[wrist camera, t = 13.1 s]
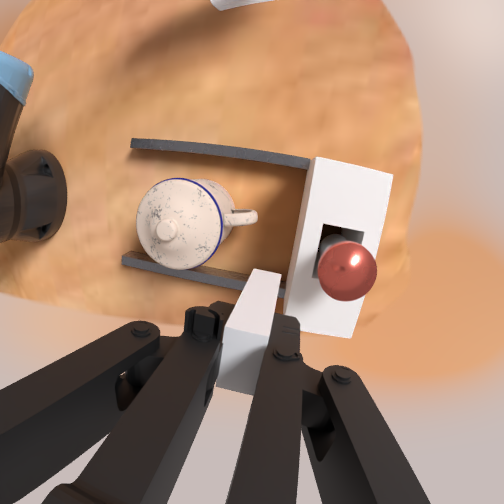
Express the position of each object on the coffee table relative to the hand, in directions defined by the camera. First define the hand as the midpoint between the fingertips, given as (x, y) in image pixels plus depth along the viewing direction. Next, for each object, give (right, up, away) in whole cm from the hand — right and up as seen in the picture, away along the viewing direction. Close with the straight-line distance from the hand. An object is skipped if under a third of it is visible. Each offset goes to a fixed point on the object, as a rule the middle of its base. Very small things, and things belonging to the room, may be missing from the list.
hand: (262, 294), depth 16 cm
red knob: (+7, +3, +11) cm, 14 cm away
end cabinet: (+8, +5, +19) cm, 21 cm away
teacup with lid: (-5, +7, +20) cm, 22 cm away
